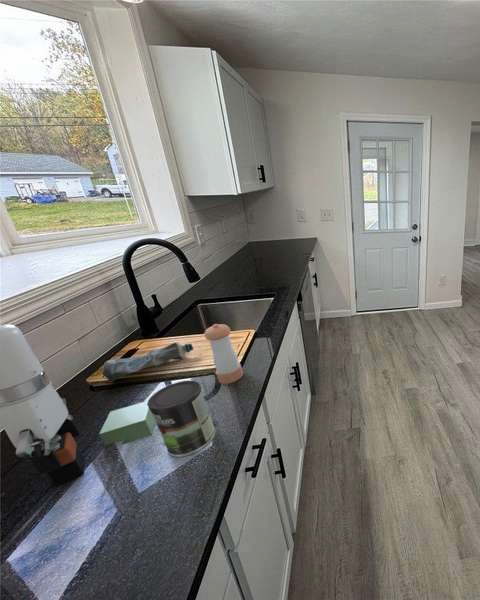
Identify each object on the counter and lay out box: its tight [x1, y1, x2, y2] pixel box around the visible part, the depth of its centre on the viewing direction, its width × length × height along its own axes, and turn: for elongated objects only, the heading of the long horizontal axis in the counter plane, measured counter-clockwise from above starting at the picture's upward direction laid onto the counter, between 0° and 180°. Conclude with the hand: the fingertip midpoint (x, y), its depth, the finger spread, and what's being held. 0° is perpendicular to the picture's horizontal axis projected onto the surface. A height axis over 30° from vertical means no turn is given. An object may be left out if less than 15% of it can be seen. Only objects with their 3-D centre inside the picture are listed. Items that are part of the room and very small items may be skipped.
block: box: [98, 400, 156, 447], centre depth 81 cm, size 9×9×5 cm
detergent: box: [102, 341, 194, 383], centre depth 109 cm, size 13×7×25 cm
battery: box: [40, 432, 86, 488], centre depth 68 cm, size 4×7×10 cm, turn 43°
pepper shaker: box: [204, 323, 244, 385], centre depth 98 cm, size 7×7×19 cm
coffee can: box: [147, 380, 217, 458], centre depth 75 cm, size 10×10×14 cm
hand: (62, 452), depth 67 cm, fingers open, 9 cm apart
